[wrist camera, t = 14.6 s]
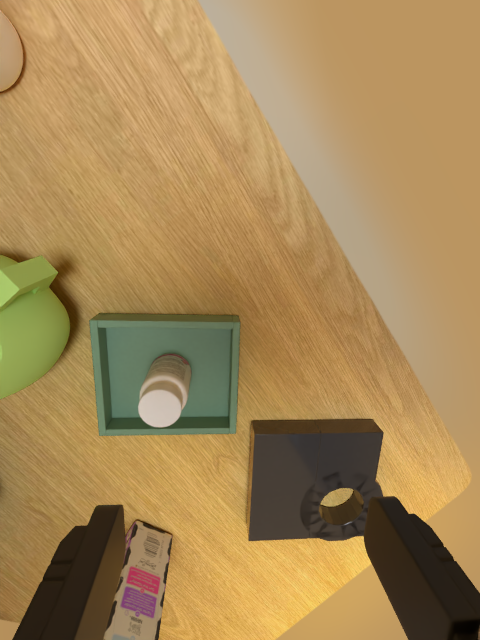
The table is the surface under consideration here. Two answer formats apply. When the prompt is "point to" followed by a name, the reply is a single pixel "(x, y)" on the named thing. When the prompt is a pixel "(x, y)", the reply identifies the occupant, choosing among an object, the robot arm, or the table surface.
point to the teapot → (29, 323)
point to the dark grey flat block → (311, 478)
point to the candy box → (140, 585)
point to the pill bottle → (165, 390)
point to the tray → (140, 352)
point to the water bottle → (9, 53)
